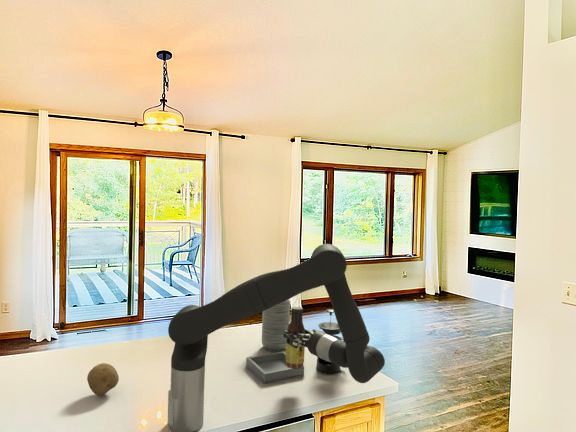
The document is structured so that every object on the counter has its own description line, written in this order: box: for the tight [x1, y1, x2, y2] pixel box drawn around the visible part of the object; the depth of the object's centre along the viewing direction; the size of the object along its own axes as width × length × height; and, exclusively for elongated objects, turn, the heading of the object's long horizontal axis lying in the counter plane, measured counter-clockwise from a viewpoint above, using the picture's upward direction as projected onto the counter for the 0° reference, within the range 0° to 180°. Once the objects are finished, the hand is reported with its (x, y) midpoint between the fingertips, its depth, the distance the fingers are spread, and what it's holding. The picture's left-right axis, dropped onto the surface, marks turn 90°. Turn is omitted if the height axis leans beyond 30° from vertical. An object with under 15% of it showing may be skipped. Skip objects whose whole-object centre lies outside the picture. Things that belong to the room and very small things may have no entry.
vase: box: [261, 299, 291, 353], centre depth 178 cm, size 12×12×23 cm
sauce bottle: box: [285, 306, 306, 369], centre depth 141 cm, size 6×6×20 cm
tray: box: [245, 350, 305, 385], centre depth 155 cm, size 16×16×4 cm
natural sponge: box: [86, 363, 120, 397], centre depth 132 cm, size 9×9×10 cm
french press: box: [315, 308, 345, 376], centre depth 158 cm, size 12×9×23 cm
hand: (291, 331), depth 143 cm, fingers closed on sauce bottle, 6 cm apart
